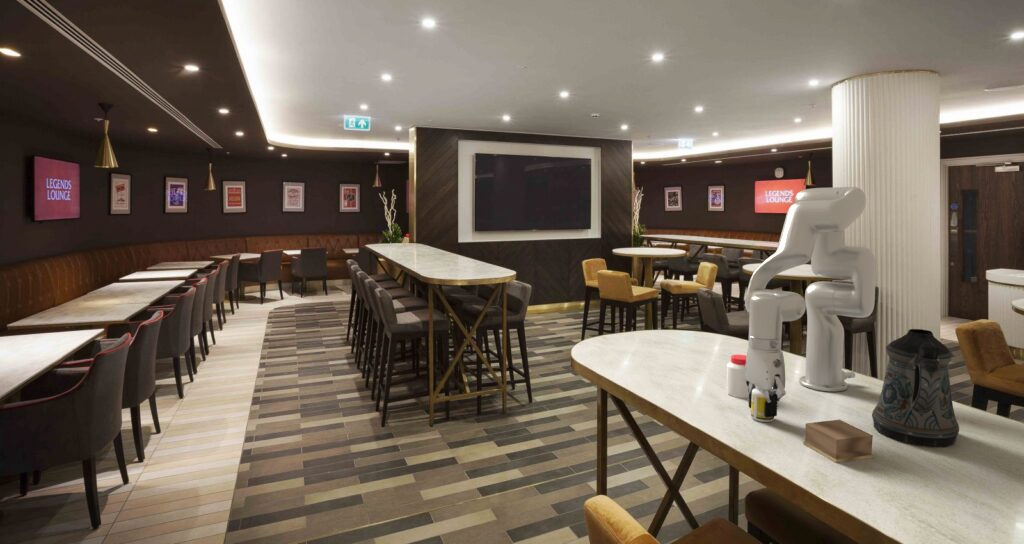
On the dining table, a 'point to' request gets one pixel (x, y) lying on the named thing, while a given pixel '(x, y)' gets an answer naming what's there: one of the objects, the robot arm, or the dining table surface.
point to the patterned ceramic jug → (917, 393)
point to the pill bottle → (736, 377)
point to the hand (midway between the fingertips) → (762, 411)
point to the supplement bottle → (759, 405)
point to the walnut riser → (838, 440)
